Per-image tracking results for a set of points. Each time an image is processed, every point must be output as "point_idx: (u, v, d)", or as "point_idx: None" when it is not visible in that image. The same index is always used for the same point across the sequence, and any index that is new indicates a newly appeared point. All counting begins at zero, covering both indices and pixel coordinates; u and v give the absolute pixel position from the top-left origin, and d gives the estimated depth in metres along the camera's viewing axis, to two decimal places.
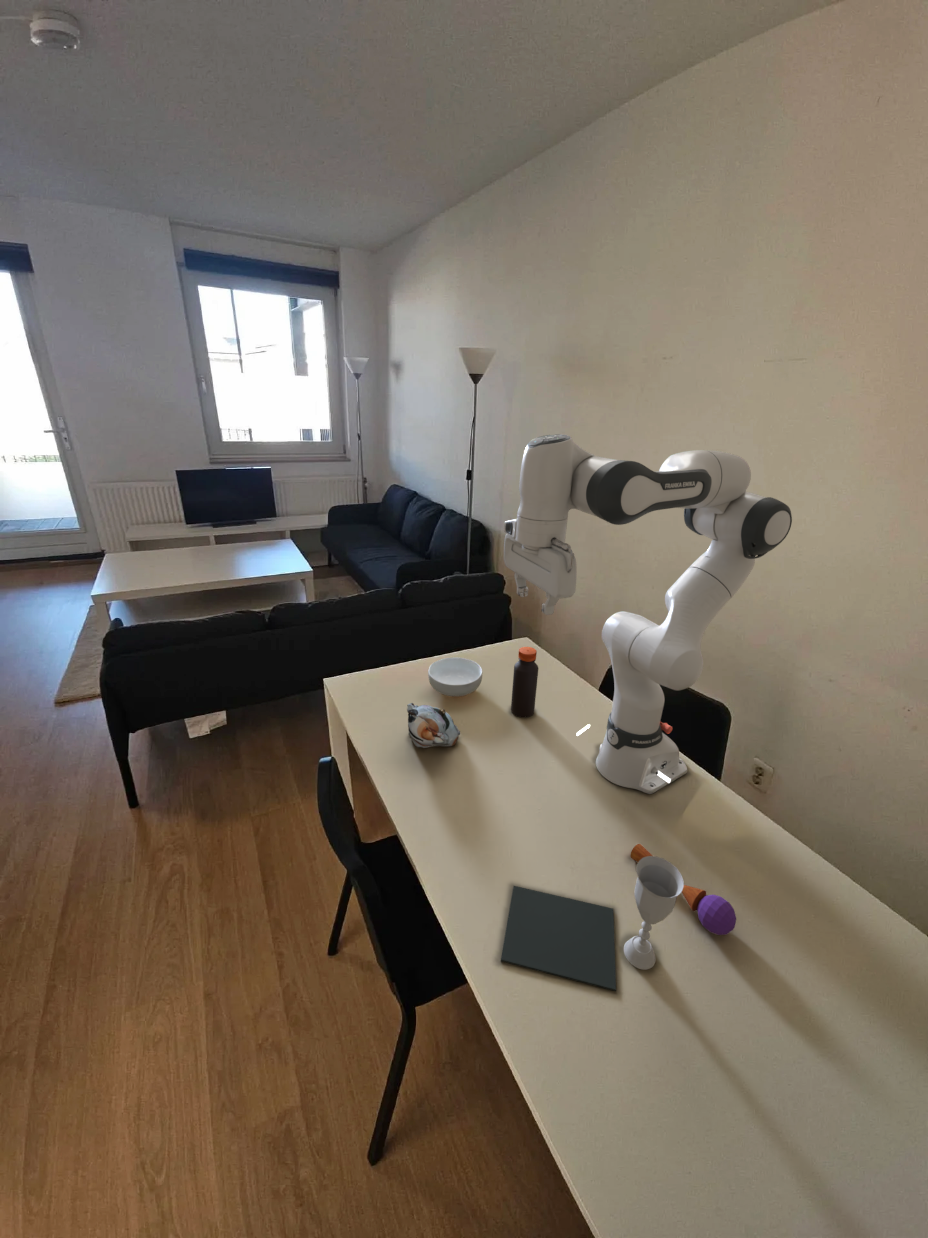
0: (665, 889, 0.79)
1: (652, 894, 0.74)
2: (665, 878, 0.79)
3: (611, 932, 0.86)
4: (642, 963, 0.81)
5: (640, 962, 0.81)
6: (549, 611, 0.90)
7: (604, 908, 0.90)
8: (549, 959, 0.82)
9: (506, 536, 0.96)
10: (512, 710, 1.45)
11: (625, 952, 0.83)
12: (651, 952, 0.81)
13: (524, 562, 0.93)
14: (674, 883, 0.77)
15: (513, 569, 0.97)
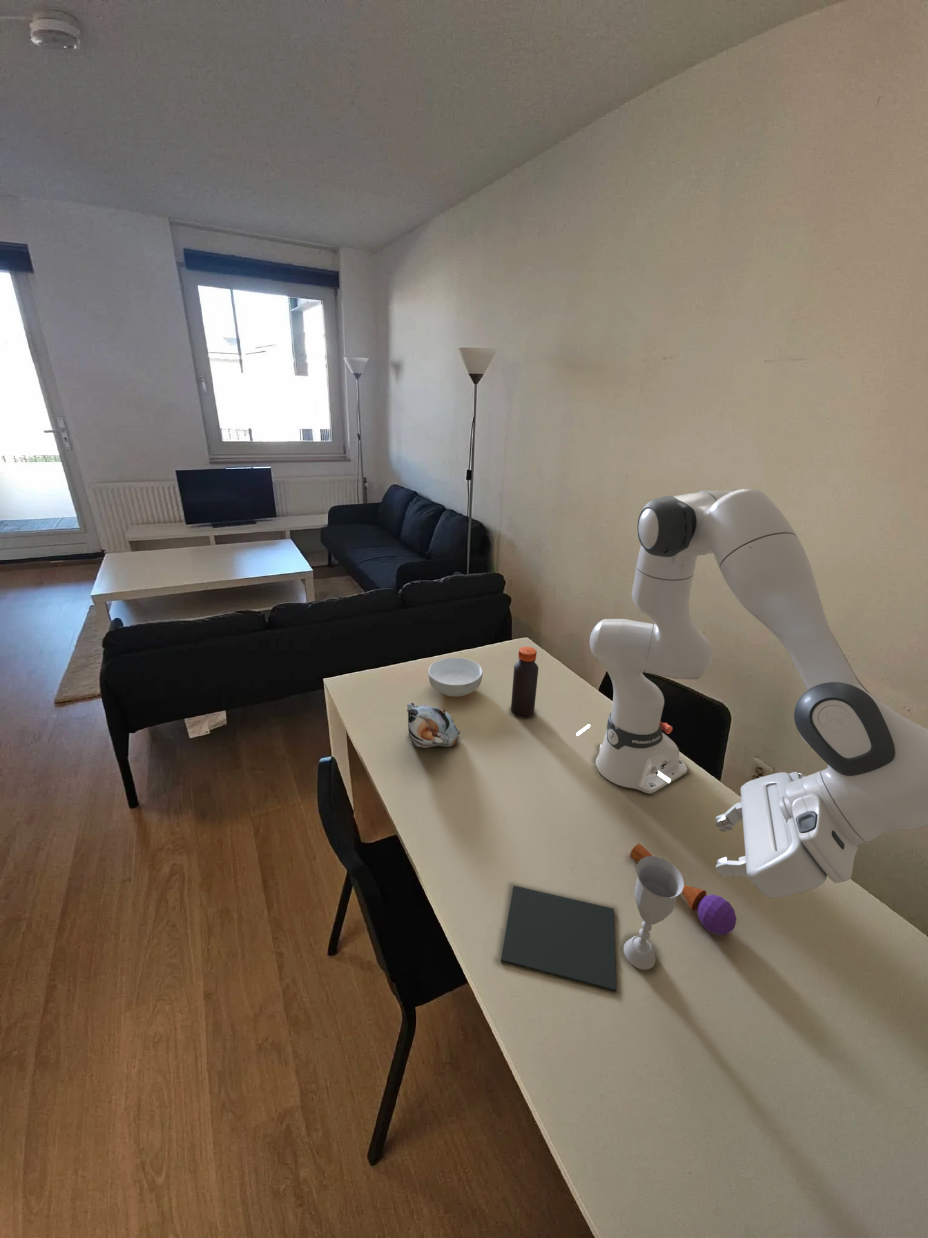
0: (665, 889, 0.79)
1: (652, 894, 0.74)
2: (665, 878, 0.79)
3: (611, 932, 0.86)
4: (642, 963, 0.81)
5: (640, 962, 0.81)
6: None
7: (604, 908, 0.90)
8: (549, 959, 0.82)
9: None
10: (512, 710, 1.45)
11: (625, 952, 0.83)
12: (651, 952, 0.81)
13: None
14: (674, 883, 0.77)
15: None
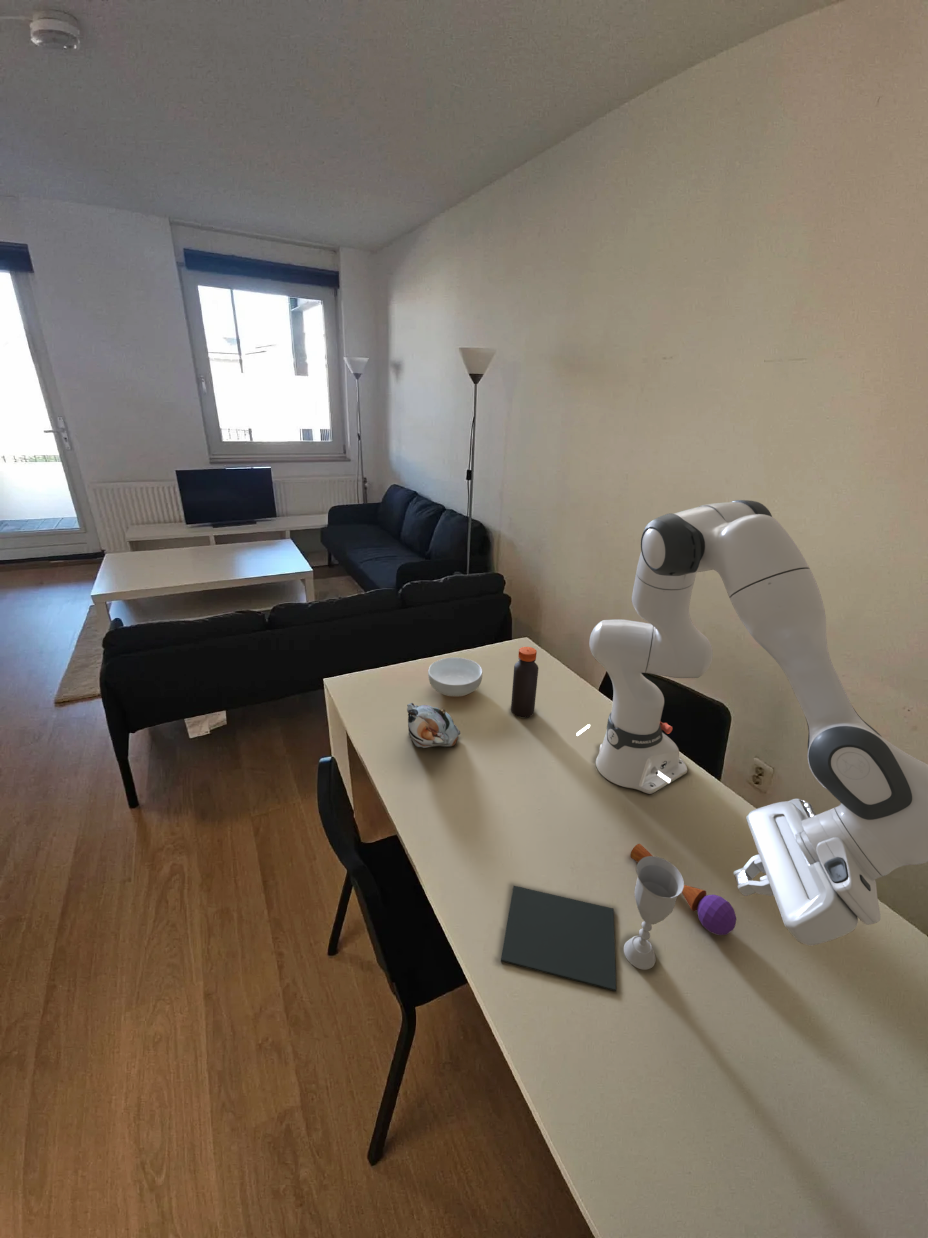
0: (665, 889, 0.79)
1: (652, 894, 0.74)
2: (665, 878, 0.79)
3: (611, 932, 0.86)
4: (642, 963, 0.81)
5: (640, 962, 0.81)
6: None
7: (604, 908, 0.90)
8: (549, 959, 0.82)
9: None
10: (512, 710, 1.45)
11: (625, 952, 0.83)
12: (651, 952, 0.81)
13: None
14: (674, 883, 0.77)
15: None
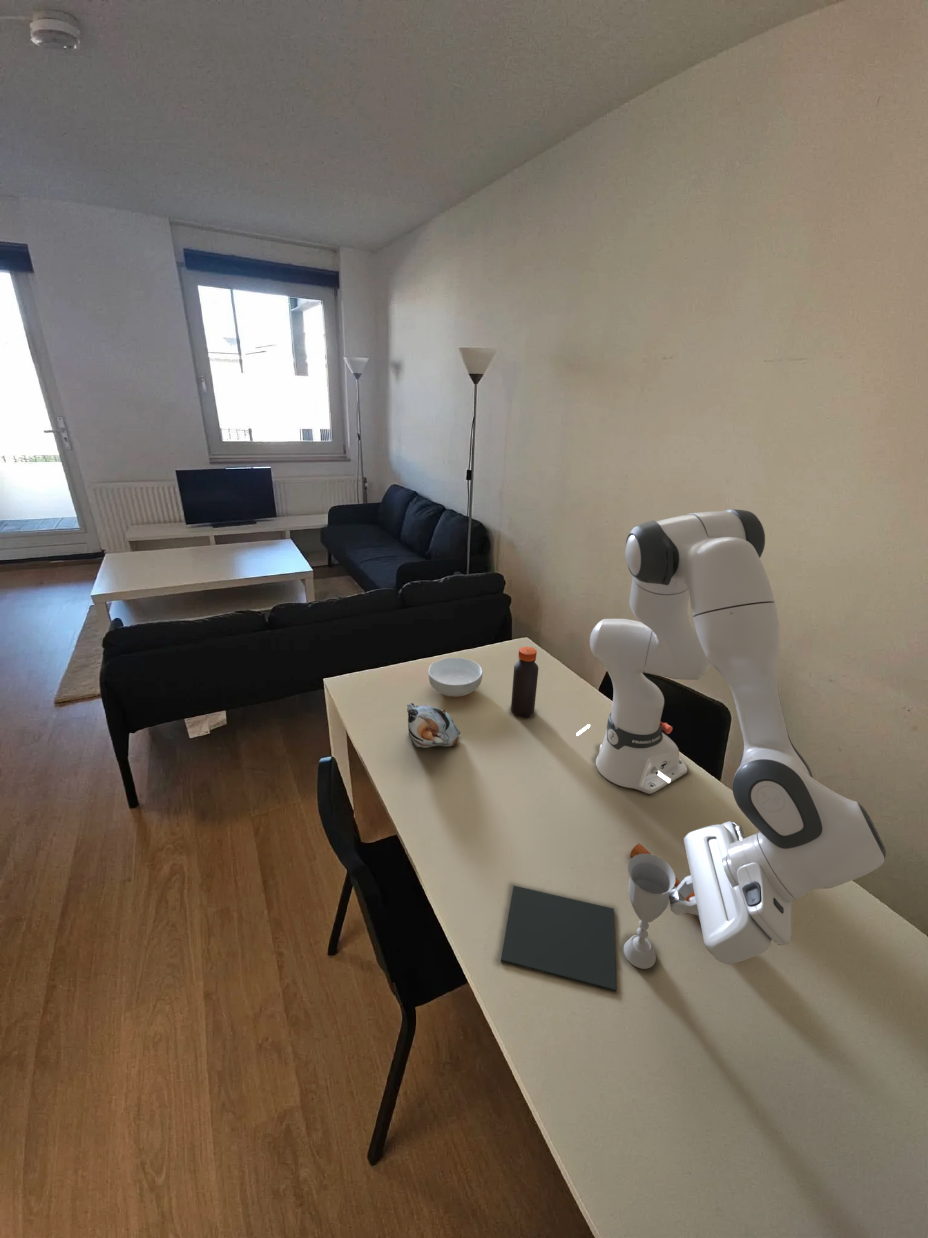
0: (659, 886, 0.80)
1: (644, 891, 0.74)
2: (658, 875, 0.79)
3: (611, 932, 0.86)
4: (641, 962, 0.81)
5: (640, 962, 0.81)
6: None
7: (604, 908, 0.90)
8: (549, 959, 0.82)
9: None
10: (512, 710, 1.45)
11: (625, 952, 0.83)
12: (650, 951, 0.81)
13: None
14: (667, 880, 0.77)
15: None
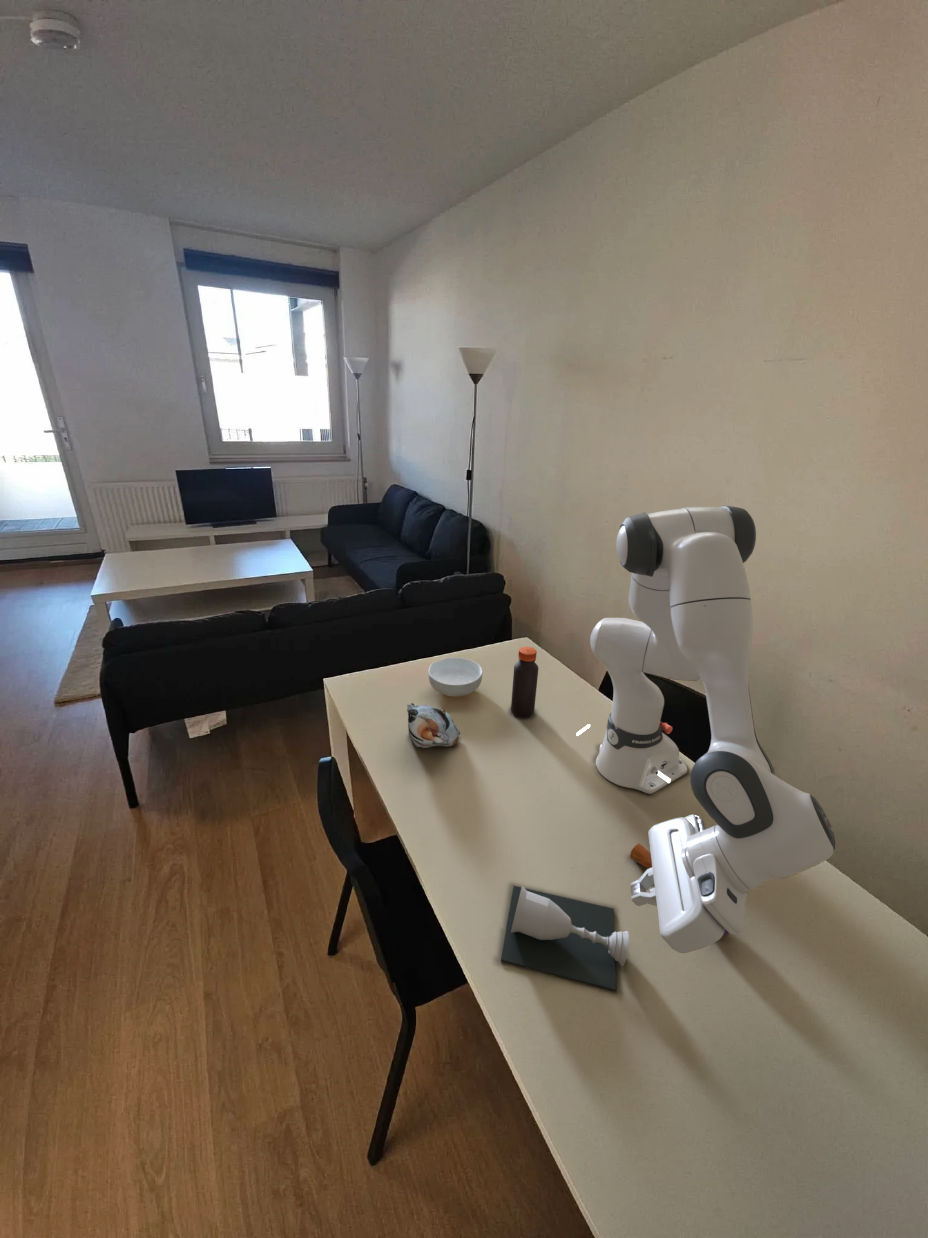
0: None
1: None
2: None
3: (611, 932, 0.86)
4: None
5: None
6: None
7: (604, 908, 0.90)
8: (549, 959, 0.82)
9: None
10: (512, 710, 1.45)
11: None
12: (612, 949, 0.80)
13: None
14: (529, 906, 0.83)
15: None
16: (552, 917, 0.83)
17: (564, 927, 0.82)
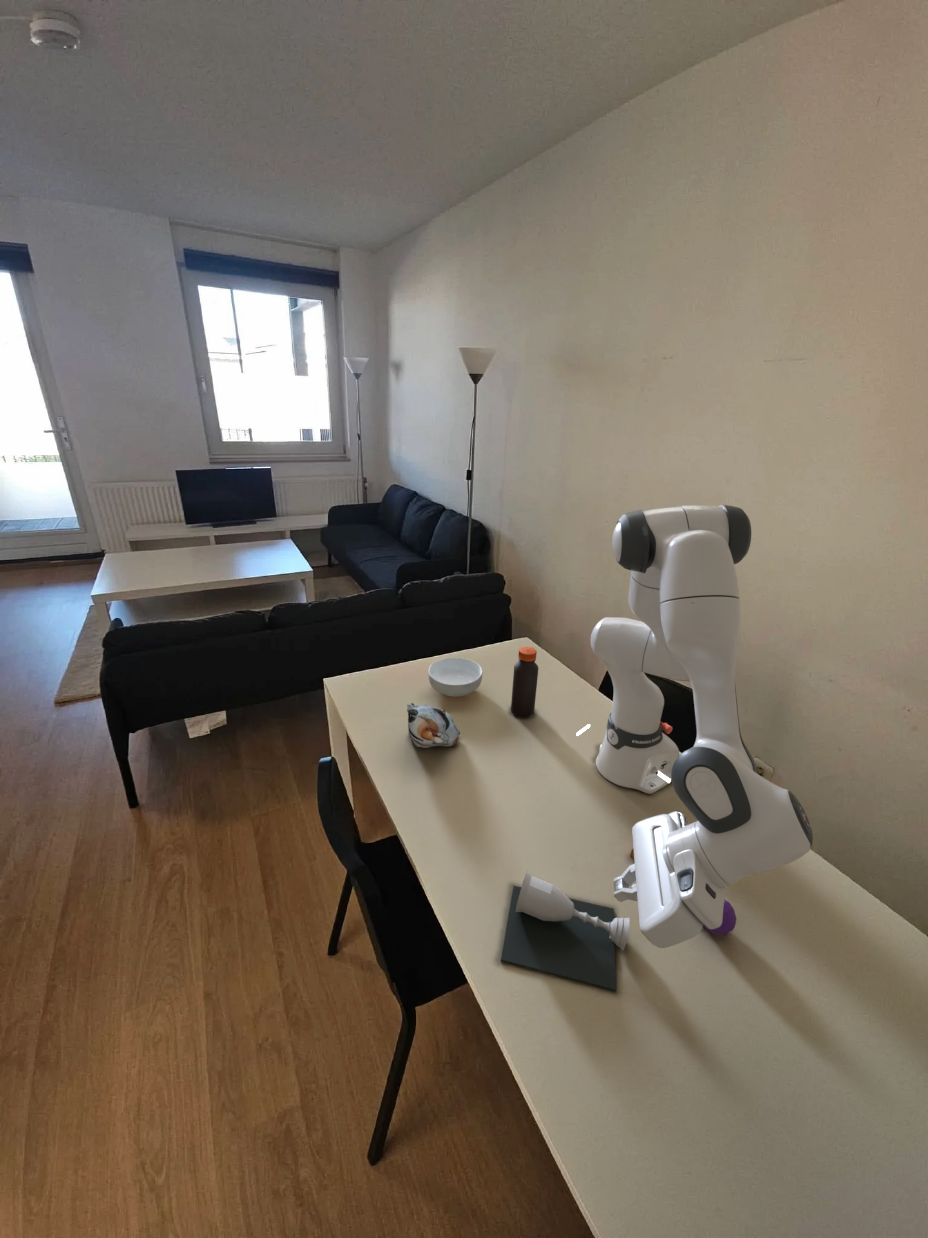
0: None
1: (520, 907, 0.86)
2: None
3: None
4: (621, 938, 0.82)
5: (620, 939, 0.82)
6: None
7: (604, 908, 0.90)
8: (549, 959, 0.82)
9: None
10: (512, 710, 1.45)
11: (620, 948, 0.83)
12: (615, 923, 0.83)
13: None
14: (536, 879, 0.89)
15: None
16: (557, 890, 0.88)
17: (568, 901, 0.86)
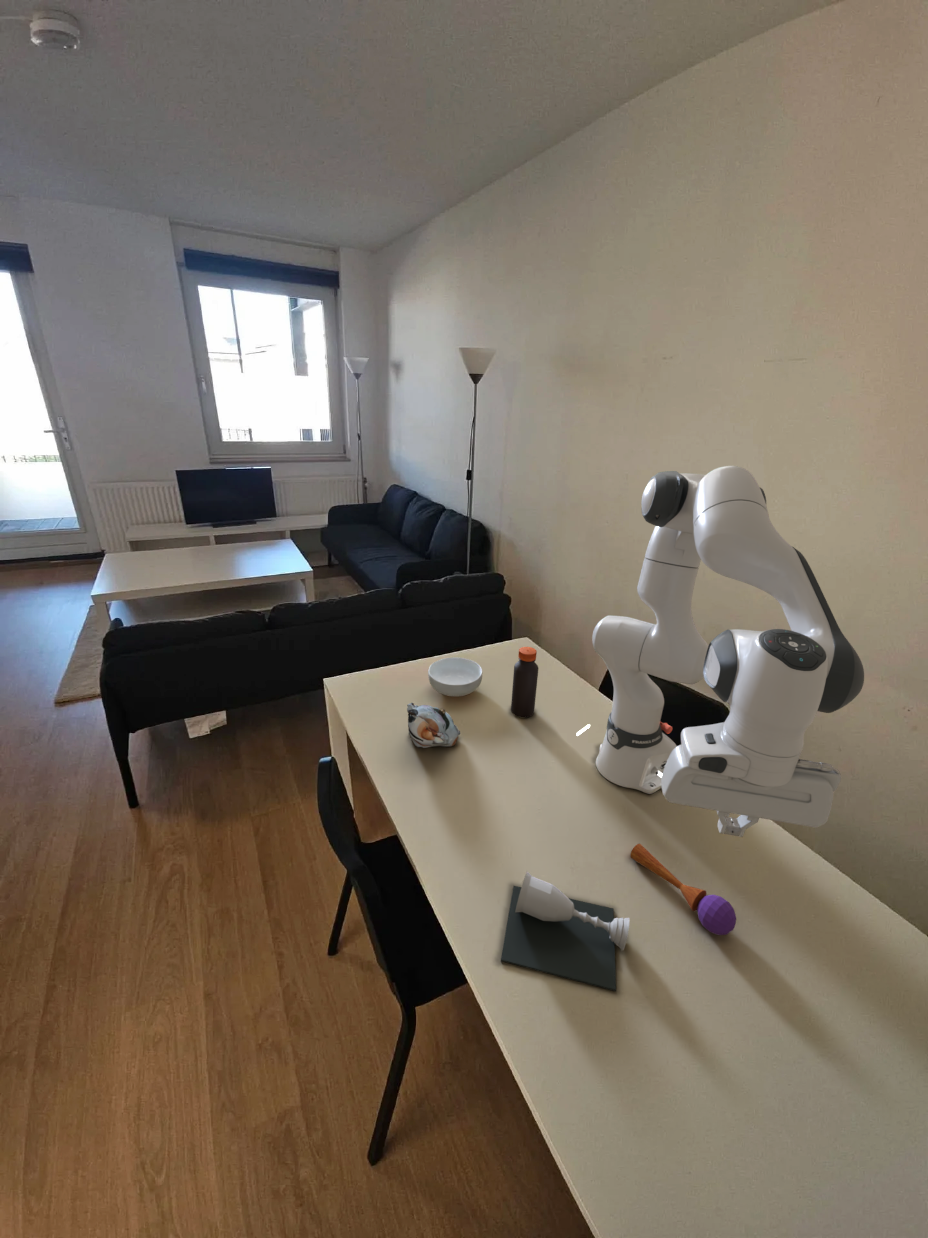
0: None
1: (520, 908, 0.86)
2: None
3: None
4: (621, 938, 0.82)
5: (620, 939, 0.82)
6: None
7: (604, 908, 0.90)
8: (549, 959, 0.82)
9: (689, 771, 0.65)
10: (512, 710, 1.45)
11: (620, 948, 0.83)
12: (615, 923, 0.83)
13: (732, 795, 0.66)
14: None
15: (697, 805, 0.68)
16: (557, 890, 0.88)
17: (568, 901, 0.86)
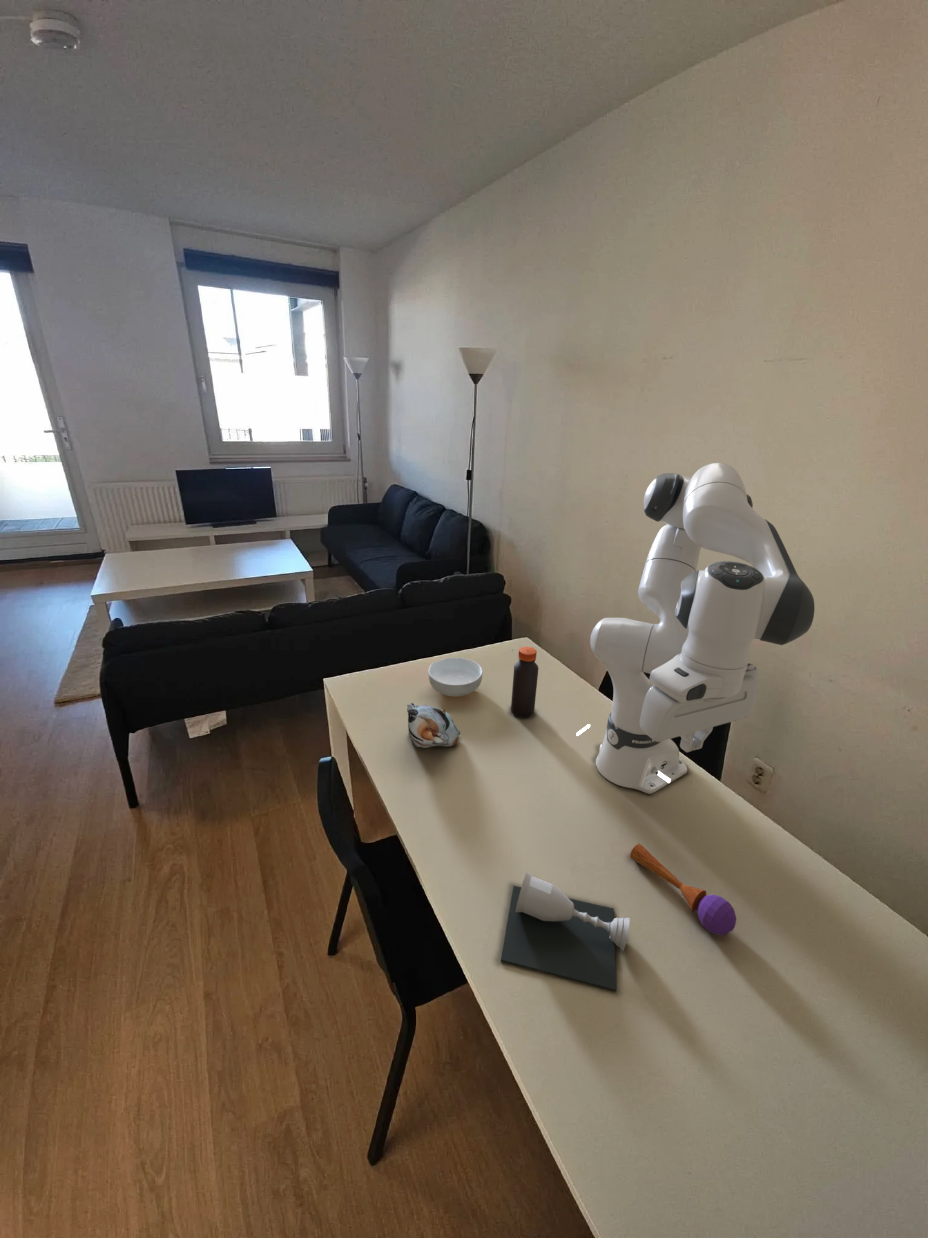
0: None
1: (520, 908, 0.86)
2: None
3: None
4: (621, 938, 0.82)
5: (620, 939, 0.82)
6: None
7: (604, 908, 0.90)
8: (549, 959, 0.82)
9: (677, 706, 0.71)
10: (512, 710, 1.45)
11: (620, 948, 0.83)
12: (615, 923, 0.83)
13: (701, 715, 0.75)
14: None
15: (677, 735, 0.75)
16: (557, 890, 0.88)
17: (568, 901, 0.86)
